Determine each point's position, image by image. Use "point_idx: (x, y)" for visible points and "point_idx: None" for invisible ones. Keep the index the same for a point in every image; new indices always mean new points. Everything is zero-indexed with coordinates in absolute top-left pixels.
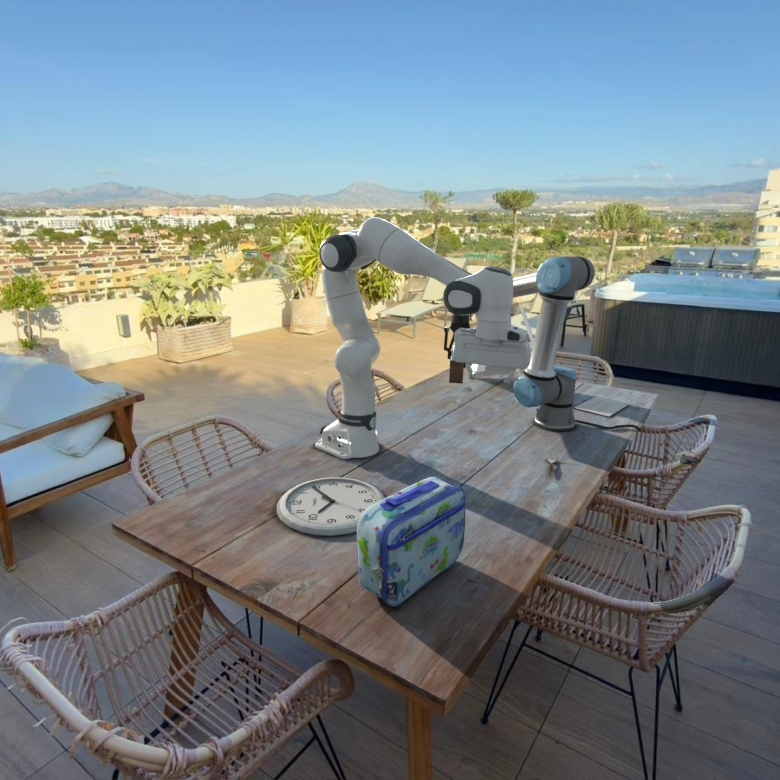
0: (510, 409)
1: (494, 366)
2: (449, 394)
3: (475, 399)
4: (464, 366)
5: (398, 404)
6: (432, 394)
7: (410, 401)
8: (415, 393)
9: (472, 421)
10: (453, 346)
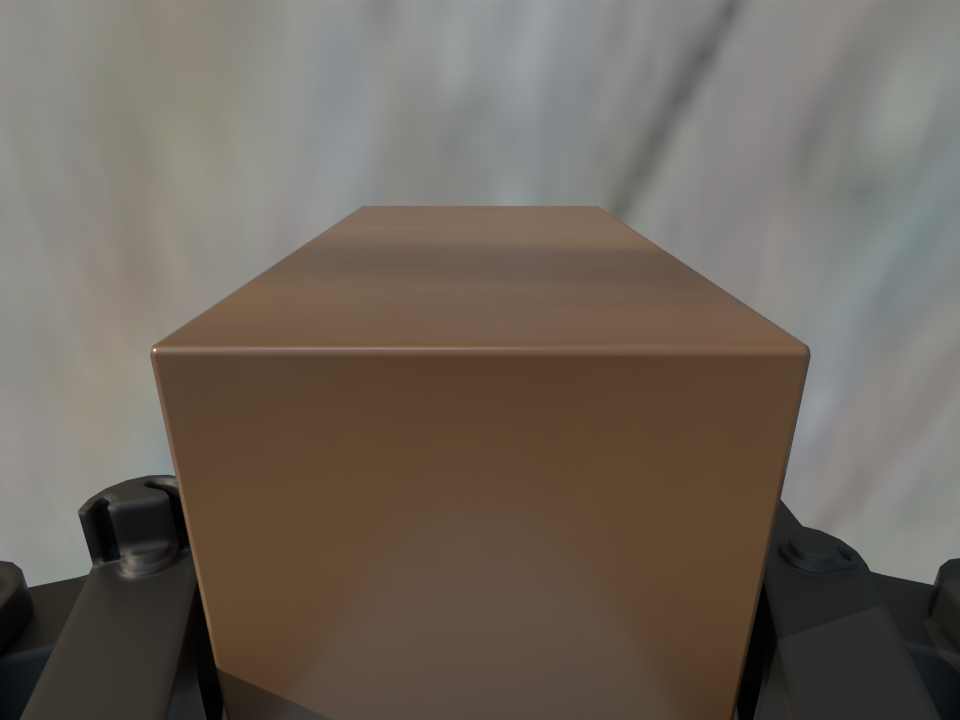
0: (929, 383)
1: None
2: (406, 45)
3: (670, 168)
4: None
5: (30, 435)
6: (232, 87)
7: (94, 346)
8: (53, 89)
9: None
10: (240, 639)
